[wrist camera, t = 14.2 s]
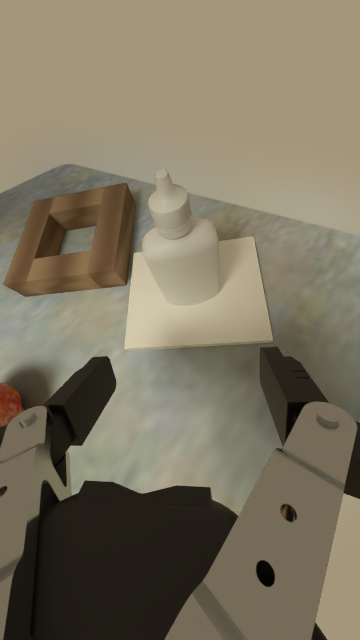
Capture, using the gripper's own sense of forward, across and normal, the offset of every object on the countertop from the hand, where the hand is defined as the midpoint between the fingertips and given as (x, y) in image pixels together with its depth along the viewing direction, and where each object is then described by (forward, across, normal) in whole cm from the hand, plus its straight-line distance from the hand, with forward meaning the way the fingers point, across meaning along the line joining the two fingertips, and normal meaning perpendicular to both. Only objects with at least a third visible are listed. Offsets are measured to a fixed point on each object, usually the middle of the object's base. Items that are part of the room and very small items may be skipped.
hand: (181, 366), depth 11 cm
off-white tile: (+13, 0, -1) cm, 13 cm away
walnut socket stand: (+19, +15, -7) cm, 25 cm away
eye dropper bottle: (+12, 0, -1) cm, 12 cm away
